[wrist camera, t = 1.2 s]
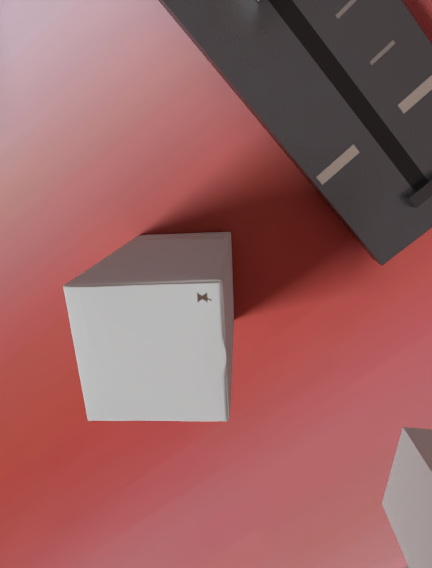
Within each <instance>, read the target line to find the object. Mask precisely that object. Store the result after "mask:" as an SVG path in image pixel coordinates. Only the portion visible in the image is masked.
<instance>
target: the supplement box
mask: <svg viewBox="0 0 432 568" xmlns="http://www.w3.org/2000/svg"><path fill="white" fill-rule="evenodd" d="M63 288H64V293H65V298H66V304H67V309H68V315H69V320H70V326H71V331H72V337H73V342H74V348H75V353H76V359H77V364H78V370H79V375H80V381H81V386H82V391H83V396H84V401H85V407H86V413H87V419H88V421H92V420H99V421H132V420H143V421H228V420H229V416H230V403H231V380H232V354H233V330H234V298H233V269H232V241H231V233H230V232H207V233H182V234H154V235H140V236H137V237H135V238H134V239H132V240H131V241H129V242H128V243H127V244H125V245H124V246H122V247H121V248H119V249H118V250H116V251H115V252H113V253H112V254H110V255H109V256H107V257H106V258H104V259H103V260H101V261H100V262H99V263H97V264H96V265H94V266H93V267H91V268H90V269H88V270H86V271H85V272H84V273H82V274H81V275H79V276H78V277H76V278H75V279H73V280H71V281H70V282H68V283H67V284H65V285H64V286H63Z"/></svg>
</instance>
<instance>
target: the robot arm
mask: <svg viewBox="0 0 432 568" xmlns="http://www.w3.org/2000/svg"><path fill="white" fill-rule="evenodd" d="M382 505H383V508H384V510H385V512H386V515H387V517H388V519H389V522H390V524H391V526H392V529H393V531H394V533H395V536H396V538H397V540H398V543H399V545H400V547H401V550H402V552H403V554H404V557H405V559H406V561H407V564H408V566H409V568H432V430H429V429H419V428H409V427H403V429H402V432H401V436H400V440H399V443H398V447H397V451H396V454H395V458H394V462H393V465H392V469H391V473H390V476H389V480H388V484H387V487H386V491H385V495H384V498H383V502H382Z"/></svg>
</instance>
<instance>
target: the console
mask: <svg viewBox="0 0 432 568" xmlns="http://www.w3.org/2000/svg"><path fill="white" fill-rule="evenodd" d="M159 1H160V3H161V4H162V5H163V6H164V7H165V9H166V10H167V11H168V12H169V14H170V15H171V16H172V17H173V18H174V20H175V21H176V22H177V23H178V24H179V26H180V27H181V28H182V29H183V30H184V32H185V33H186V34H187V35H188V36H189V38H190V39H191V40H192V41H193V42H194V44H195V45H196V46H197V47H198V48H199V50H200V51H201V52H202V53H203V54H204V56H205V57H206V58H207V59H208V60H209V62H210V63H211V64H212V65H213V67H214V68H215V69H216V70H217V71H218V73H219V74H220V75H221V76H222V77H223V79H224V80H225V81H226V82H227V83H228V85H229V86H230V87H231V88H232V89H233V91H234V92H235V93H236V94H237V95H238V97H239V98H240V99H241V100H242V101H243V103H244V104H245V105H246V106H247V107H248V109H249V110H250V111H251V112H252V114H253V115H254V116H255V117H256V118H257V120H258V121H259V122H260V123H261V124H262V126H263V127H264V128H265V129H266V130H267V132H268V133H269V134H270V135H271V136H272V138H273V139H274V140H275V141H276V142H277V144H278V145H279V146H280V147H281V148H282V150H283V151H284V152H285V153H286V154H287V156H288V157H289V158H290V159H291V160H292V162H293V163H294V164H295V165H296V167H297V168H298V169H299V170H300V171H301V173H302V174H303V175H304V176H305V177H306V179H307V180H308V181H309V182H310V183H311V185H312V186H313V187H314V188H315V189H316V191H317V192H318V193H319V194H320V195H321V197H322V198H323V199H324V200H325V201H326V203H327V204H328V205H329V206H330V207H331V209H332V210H333V211H334V212H335V213H336V215H337V216H338V217H339V218H340V220H341V221H342V222H343V223H344V224H345V226H346V227H347V228H348V229H349V230H350V232H351V233H352V234H353V235H354V236H355V238H356V239H357V240H358V241H359V242H360V244H361V245H362V246H363V247H364V248H365V250H366V251H367V252H368V253H369V254H370V256H371V257H372V258H373V259H374V260H375V261H376V262H378V263H379V264H381V265H383V264H385V263H386V262H387V261H389V260H390V259H391V258H392V257H394V256H395V255H396V254H398V253H399V252H400V251H402V250H403V249H404V248H406V247H407V246H408V245H409V244H411V243H412V242H413V241H415V240H416V239H417V238H419V237H420V236H421V235H422V234H424V233H425V232H426V231H428V230H429V229H430V228H432V44H431V42H430V41H429V39H428V38H427V36H426V35H425V34H424V32H423V31H422V29H421V28H420V26H419V25H418V23H417V22H416V20H415V19H414V18H413V16H412V15H411V13H410V12H409V10H408V9H407V7H406V6H405V5H404V3H403V2H402V0H260V1H259V2H258V0H159Z"/></svg>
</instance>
